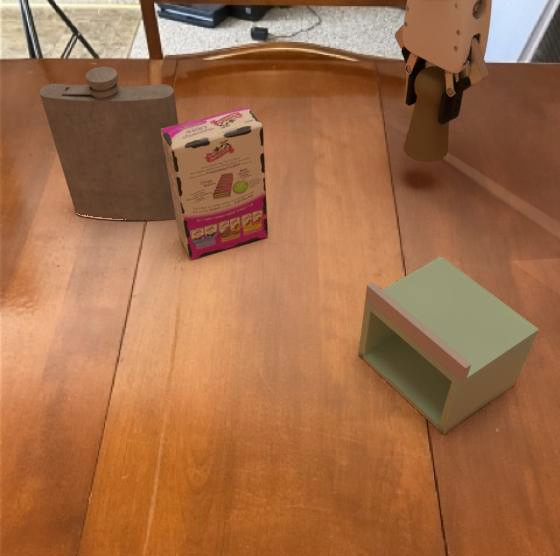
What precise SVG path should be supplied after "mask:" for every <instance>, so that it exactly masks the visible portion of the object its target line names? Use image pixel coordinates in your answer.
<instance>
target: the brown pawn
mask: <svg viewBox="0 0 560 556" xmlns="http://www.w3.org/2000/svg"><path fill="white" fill-rule="evenodd" d="M414 87H415V93H416V95H417V99H416V103H415V104H414V106H413V110H412V115H411V118H410V122H409V125H408V130H407V133H406V137H405V141H404V144H403V152H404V153H405V155H406V156H407V157H409V158H410V159H413V160H415V161H417V162H423V163H432V162H438V161H440V160H442V159H444V158H445V157H446V156H447V155H448V153H449V135H450V133H449V129H450V121H449V122H447V123H445V124H440V123H438V116H439V109H440V103H441V97H442V94H443V93H445V92H446V79H445V70H444V69H442V68H440V67H438V66H436V65H432V66H431V65H430V66H426V67H425V68H424V69H422V70H421V71H420V72H419V73H418V75H417V77H416V79H415V84H414Z"/></svg>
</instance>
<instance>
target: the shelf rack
mask: <svg viewBox="0 0 560 556" xmlns="http://www.w3.org/2000/svg"><path fill="white" fill-rule="evenodd" d="M364 298H365V299H364V306H363V315H362V322H361V329H360V337H359V345H358V346H359V347H358V353H357V356H359V357H360V358H361V359H362V360H363V361H364V363H366V364H367V365H368V366H369V367H370V368H371V369H372V370H373V371H374V372H376V373H377V374H378V375H379V376H380V377H381V378H382V380H384V381H385V382H386V383H387V384H388V385H389V386H391V387H392V388H393V389H394V390H395V391H396V392H397V393H398V394H399V395H400V396H401V397H403V399H405V401H406V402H408V403H409V404H410V405H411V406H412V407H413V408H414V409H415V410H416V411H418V412H419V414H421V416H422V417H424V418H425V419H426V420H427V421H428V422H429V423H430V424H431V425H432V426H434V427H435V428H436V430H438V431H439V432H440V433H442V435H443V436H445V435H446V434H448V433H449V432H451V431H452V430H453V429H455V428H456V427H458V426H459V425H461V424H462V423H463V422H464V421H466V420H467V419H469V418H470V417H472V416H473V415H475V414H476V413H477V412H479V411H481V410H482V409H483V408H484V407H486V406H487V405H489V404H491V402H493V401H494V400H496V399H497V398H498V397H500V396H502V395H503V394H504V393H506V392H507V391H508V390H510V389H512V388H513V387H515V386H516V384H517V382H518V379H519V377H520V374H521V372H522V370H523V368H524V366H525V363H526V361H527V358H528V356H529V353H530V351H531V349H532V346H533V345H534V342H535V339H536V337H537V335H538V333H539V330H540V328H538V327H537V326H536V325H534V324H533V323H531V322H530V321H529V320H528V319H526V318H525V317H524V316H522V315H521V314H519V312H516V310H514V309H513V308H511V307H510V306H508V305H507V304H506V303H504V302H503V301H502V300H501V299H499V298H498V297H497V296H495V295H494V294H493V293H491V292H490V291H489V290H487V289H486V288H485V287H484V286H482V285H480V283H478V282H477V281H475V280H474V279H472V278H471V277H470V276H469V275H467V273H464V272H463V271H462V270H461V269H459V268H458V267H457V266H455V265H454V264H452V263H451V262H450V261H449V260H447V259H446V258H444V257H443V256H441V255H440V256H439V257H437V258H434V259H433V260H432V261H430V262H428V263H426V264H424V265H423V266H421V267H419V268H418V269H416V270H414V271H412V272H410V273H409V274H407V275H405V276H403V277H402V278H400V279H398V280H397V281H394V282H393V283H391V284H390V285H387V286H386V287H384V288H381V287H380V286H378V285H377V284H376V283H375V282H373V281H371V282H370V283H368V284H367V285H366V290H365V297H364Z"/></svg>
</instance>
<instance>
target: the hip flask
mask: <svg viewBox="0 0 560 556" xmlns="http://www.w3.org/2000/svg"><path fill="white" fill-rule="evenodd" d="M85 81H86V84H65V83H50V84H47V85H44V86H43V87H41V88H40V90H39V95H40V99H41V102H42V106H43V109H44V112H45V115H46V120H47V122H48V125H49V129H50V132H51V135H52V139H53V142H54V146H55V149H56V152H57V155H58V159H59V162H60V165H61V169H62V173H63V175H64V179H65V181H66V182H65V183H66V185H67V189H68V192H69V196H70V199H71V202H72V206H73V209H74V212H75V211H76V212H75V214H76V213H78V214H80V215H86V216H87V215H88V216H93V217H102V218H112V219H123V220H125V219H126V220H146V221H145V222H150V221H149V220H153V221H152V222H155V221H154V220H158V221H170V220H176V215H175V210H174V204H173V198H172V193H171V187H170V181H169V176H168V169H167V164H166V158H165V152H164V147H163V142H162V136H161V129H162V128H166V127H170V126H174V125H177V124H179V118H178V112H177V104H176V96H175V89H174V88H173V86H171V85H169V84H165V83H164V84H161V83H160V84H150V85H138V86H137V85H136V86H118V82H119V76H118V71H117V70H116V69H115V68H113V67H110V66H99V67H94V68H91V69H90V70H88V71H87V72H86V73H85ZM168 219H169V220H168ZM147 220H148V221H147Z"/></svg>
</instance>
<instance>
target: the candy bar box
mask: <svg viewBox="0 0 560 556" xmlns="http://www.w3.org/2000/svg"><path fill="white" fill-rule="evenodd" d="M161 136H162V142H163V147H164V152H165V158H166V164H167V169H168V176H169V181H170V187H171V193H172V198H173V204H174V210H175V215H176V219H175V220H176V221H175V222H176V225H177V232H178V237H179V240H180V242H181V244H182V246H183V248H184V249H185V251H186V254H187V255H188V257H189V259H190V260H196V259H199V258H202V257H206V256H209V255H212V254H215V253H219V252H222V251H225V250H228V249H232V248H235V247H238V246H242V245H244V244H248V243H251V242H254V241H257V240H260V239H264V238H268V237H269V228H268V226H269V225H268V202H267V186H266V185H267V184H266V161H265V144H264V143H265V140H264V125H263V124H262V122H261V121H260V120H259V119H258V118H257V117H256V116H255V114H254V113H253V112H252V109H250V107H249V106H244V107H239V108H236V109H232V110H228V111H225V112H221V113H217V114H212V115H208V116H205V117H201V118H197V119H194V120H190V121H186V122H182V123H178V124H177V125H174V126H170V127H166V128H162V129H161Z"/></svg>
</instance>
